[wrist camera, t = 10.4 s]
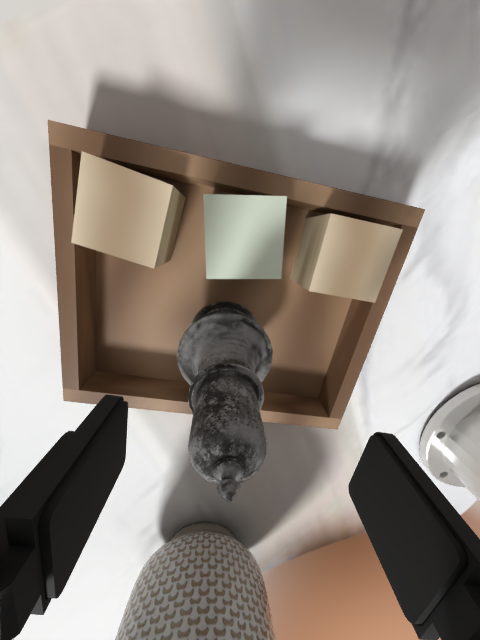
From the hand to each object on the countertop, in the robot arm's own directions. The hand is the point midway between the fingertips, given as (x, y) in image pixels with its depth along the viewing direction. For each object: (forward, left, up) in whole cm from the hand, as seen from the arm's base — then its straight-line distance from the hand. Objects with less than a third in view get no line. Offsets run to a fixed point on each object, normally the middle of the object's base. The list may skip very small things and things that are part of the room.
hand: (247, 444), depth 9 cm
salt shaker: (+1, 0, -10) cm, 10 cm away
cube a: (-5, -7, -10) cm, 13 cm away
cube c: (+7, -7, -10) cm, 14 cm away
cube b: (+1, -7, -10) cm, 12 cm away
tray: (+1, -3, -10) cm, 11 cm away
